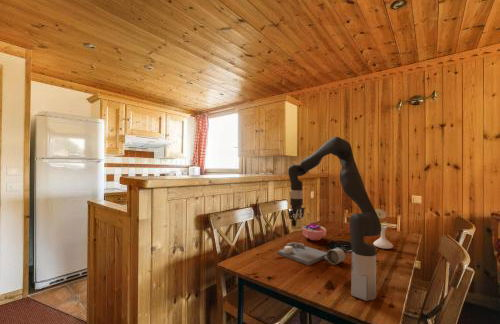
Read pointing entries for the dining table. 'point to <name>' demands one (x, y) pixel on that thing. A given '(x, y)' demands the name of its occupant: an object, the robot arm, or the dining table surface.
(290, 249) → the carrier
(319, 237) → the cell model
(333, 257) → the ceramic mug
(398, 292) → the dining table surface
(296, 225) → the gold hollow block
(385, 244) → the flower in vase
